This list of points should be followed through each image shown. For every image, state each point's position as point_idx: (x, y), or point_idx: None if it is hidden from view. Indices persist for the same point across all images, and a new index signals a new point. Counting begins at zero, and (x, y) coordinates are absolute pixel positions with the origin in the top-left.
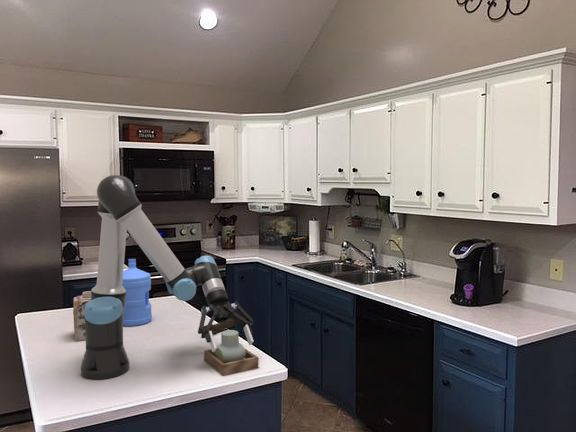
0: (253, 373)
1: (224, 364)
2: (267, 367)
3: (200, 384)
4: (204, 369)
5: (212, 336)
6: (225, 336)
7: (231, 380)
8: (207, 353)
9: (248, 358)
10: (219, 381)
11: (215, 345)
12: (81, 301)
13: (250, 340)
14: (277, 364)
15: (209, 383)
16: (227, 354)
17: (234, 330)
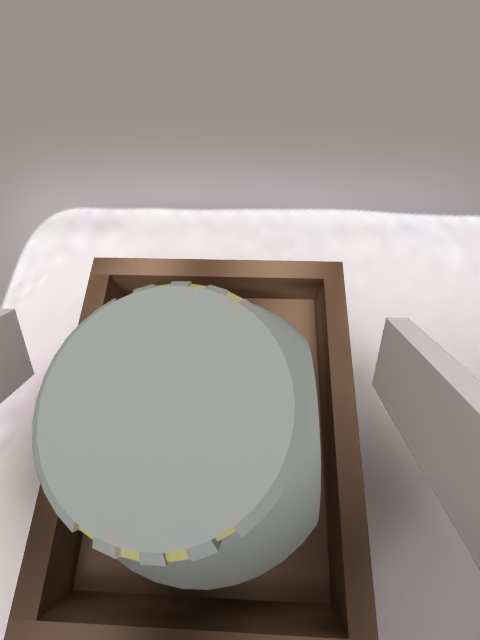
0: (181, 242)
1: (327, 262)
2: (81, 269)
3: (457, 256)
4: (394, 431)
5: (473, 400)
6: (279, 332)
7: (308, 226)
8: (369, 563)
9: (152, 273)
10: (362, 243)
11: (403, 328)
12: None
13: (5, 332)
14: (16, 276)
15: (413, 246)
16: (277, 317)
17: (45, 456)
